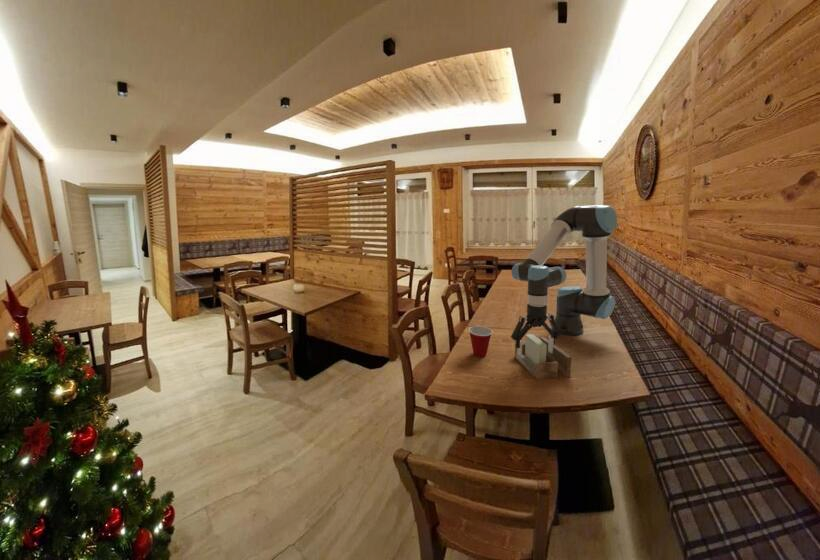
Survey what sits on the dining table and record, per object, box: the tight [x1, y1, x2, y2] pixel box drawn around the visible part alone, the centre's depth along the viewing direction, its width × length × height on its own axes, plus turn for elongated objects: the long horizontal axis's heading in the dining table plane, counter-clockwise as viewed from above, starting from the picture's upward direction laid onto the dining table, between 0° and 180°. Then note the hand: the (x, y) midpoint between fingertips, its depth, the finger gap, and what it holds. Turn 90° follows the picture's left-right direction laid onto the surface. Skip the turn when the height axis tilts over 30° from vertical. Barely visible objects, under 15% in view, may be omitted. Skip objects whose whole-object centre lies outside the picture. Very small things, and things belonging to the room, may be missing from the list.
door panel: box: [524, 333, 547, 366], centre depth 143 cm, size 3×12×12 cm, turn 7°
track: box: [514, 336, 572, 380], centre depth 144 cm, size 13×22×8 cm, turn 7°
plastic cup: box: [468, 325, 494, 358], centre depth 157 cm, size 11×11×12 cm
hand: (535, 353), depth 143 cm, fingers open, 13 cm apart
